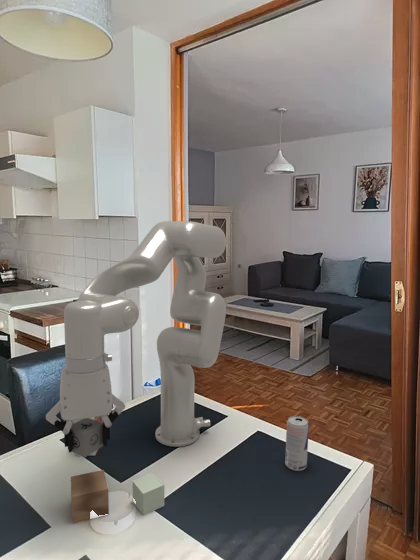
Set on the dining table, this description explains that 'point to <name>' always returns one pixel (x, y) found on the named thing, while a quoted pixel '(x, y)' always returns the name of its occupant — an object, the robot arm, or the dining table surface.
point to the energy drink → (296, 443)
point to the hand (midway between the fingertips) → (87, 445)
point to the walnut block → (89, 495)
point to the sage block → (148, 493)
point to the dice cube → (86, 436)
